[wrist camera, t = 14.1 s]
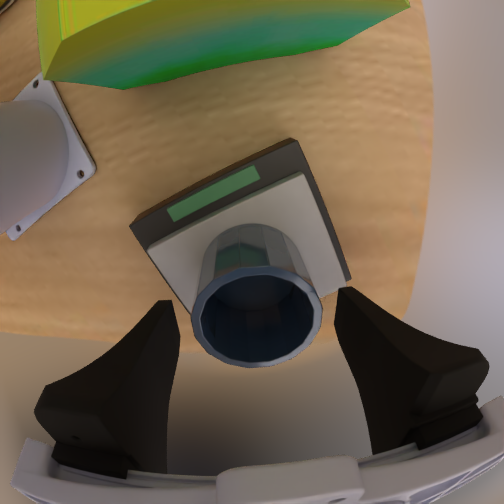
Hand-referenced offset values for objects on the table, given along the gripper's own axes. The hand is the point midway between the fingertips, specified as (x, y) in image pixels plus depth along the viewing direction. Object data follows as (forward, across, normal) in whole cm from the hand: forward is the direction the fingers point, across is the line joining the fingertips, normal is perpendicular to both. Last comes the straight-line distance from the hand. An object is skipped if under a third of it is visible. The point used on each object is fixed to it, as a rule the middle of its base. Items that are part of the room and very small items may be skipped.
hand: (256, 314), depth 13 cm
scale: (+6, 0, -1) cm, 6 cm away
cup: (+4, 0, 0) cm, 4 cm away
